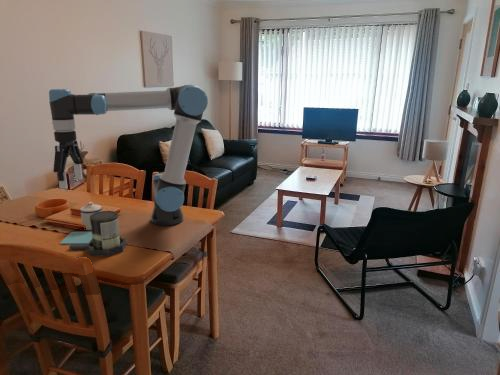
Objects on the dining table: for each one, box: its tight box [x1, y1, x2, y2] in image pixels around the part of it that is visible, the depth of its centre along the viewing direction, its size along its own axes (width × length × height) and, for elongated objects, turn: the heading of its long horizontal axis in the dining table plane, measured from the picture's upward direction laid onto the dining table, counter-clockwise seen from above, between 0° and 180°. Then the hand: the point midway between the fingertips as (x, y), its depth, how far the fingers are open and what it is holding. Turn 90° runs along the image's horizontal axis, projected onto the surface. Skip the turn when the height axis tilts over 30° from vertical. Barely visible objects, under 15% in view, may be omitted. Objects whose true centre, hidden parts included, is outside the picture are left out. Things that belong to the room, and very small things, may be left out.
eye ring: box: [68, 235, 127, 257], centre depth 142 cm, size 21×14×2 cm, turn 94°
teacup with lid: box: [79, 201, 103, 231], centre depth 164 cm, size 12×9×12 cm
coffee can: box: [90, 210, 121, 249], centre depth 141 cm, size 10×10×14 cm
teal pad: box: [59, 231, 92, 245], centre depth 152 cm, size 12×12×1 cm
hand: (71, 183), depth 144 cm, fingers open, 13 cm apart
